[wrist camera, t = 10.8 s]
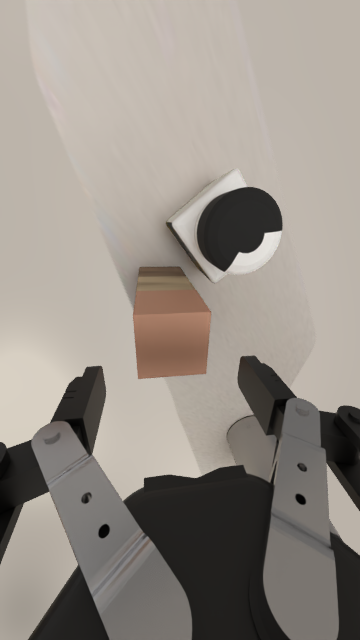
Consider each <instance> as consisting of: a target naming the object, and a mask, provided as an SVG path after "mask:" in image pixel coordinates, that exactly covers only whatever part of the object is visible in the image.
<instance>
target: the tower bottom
mask: <svg viewBox="0 0 360 640" xmlns="http://www.w3.org/2000/svg"><path fill="white" fill-rule="evenodd" d="M155 276H186V275H185V274H184V272H183V271H182V269H181V268H180V267H140V269H139V276H138V277H155Z"/></svg>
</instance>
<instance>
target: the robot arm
mask: <svg viewBox="0 0 360 640" xmlns="http://www.w3.org/2000/svg"><path fill="white" fill-rule="evenodd" d="M238 385H239V388H240V390H241V392H242V393H243V395H244V397H245V399H246V401H247V402H248V404H249V406H250V408H251V410H252V411H253V413H254V415H255V416H251V417H247V418H244V419H242V420H240V421H238V422H237V423H235V424H234V425H233V426H232V427H231V428H230V430H229V432H228V434H227V440H228V443H229V446H230V449H231V451H232V454H233V457H234V460H235V463H236V465H237V466H229V467H222V468H218V469H216V470H214V471H212V472H210V473H207V474H205V475H203V476H201V477H198V478H190V477H182V476H176V475H163V476H156V477H149V478H144V487H143V488H141V489H139V490H137V491H136V492H134V493H132V494H131V495H130V496H129V497H127V498H126V499H125V500H124V501H122V499H121V498H120V496H119V495H118V493H117V492H116V490H115V488H114V487H113V485H112V484H111V482H110V481H109V479H108V478H107V476H106V475H105V473H104V471H103V470H102V468H101V467H100V465H99V464H98V462H97V461H96V459H95V458H94V456H93V455H92V453H93V448H94V444H95V440H96V436H97V432H98V428H99V423H100V419H101V415H102V411H103V407H104V403H105V397H106V387H105V381H104V375H103V369H102V366H93V367H87V368H86V369H85V372H84V374H83V376H82V377H76V378H75V379H74V380H73V381H72V382H71V383H69V385H68V387H67V389H66V391H65V393H64V395H63V397H62V400H61V402H60V404H59V406H58V408H57V410H56V412H55V414H54V416H53V418H52V420H51V422H50V423H49V424H47V425H45V426H44V427H42V428H41V429H40V430H39V431H38V432H37V433H36V434H35V435H34V437H33V439H32V440H29V441H27V442H24V443H21V444H19V445H16V446H13V447H10V448H6V446H5V444H3V443H2V442H0V564H1V561H2V558H3V555H4V553H5V551H6V548H7V545H8V543H9V540H10V538H11V535H12V533H13V530H14V527H15V525H16V522H17V520H18V517H19V514H20V512H21V509H22V507H23V504H24V503H25V502H27V501H29V500H32V499H34V498H36V497H38V496H40V495H43V494H45V493H47V492H50V494H51V497H52V499H53V502H54V504H55V507H56V509H57V512H58V514H59V517H60V519H61V522H62V524H63V527H64V529H65V532H66V534H67V537H68V539H69V542H70V545H71V547H72V549H73V552H74V555H75V557H76V560H77V562H78V566H77V568H76V569H75V571H74V572H73V574H72V575H71V577H70V578H69V580H68V581H67V582H66V584H65V585H64V587H63V588H62V590H61V591H60V593H59V594H58V596H57V597H56V599H55V600H54V602H53V603H52V605H51V606H50V608H49V609H48V611H47V612H46V614H45V615H44V617H43V618H42V620H41V621H40V623H39V624H38V626H37V627H36V629H35V630H34V631H33V633H32V635H31V636H30V637H29V639H28V640H360V555H358V554H357V553H356V552H355V551H354V550H352V549H351V548H350V547H349V546H347V545H346V544H345V543H344V542H343V541H342V539H341V538H340V536H339V534H338V532H337V531H336V529H335V527H334V526H333V524H332V523H331V521H330V519H329V508H328V488H327V466H326V463H327V464H328V466H329V467H330V469H331V470H332V471H333V473H334V474H335V476H336V477H337V479H338V480H339V482H340V483H341V485H342V486H343V488H344V489H345V490H346V492H347V493H348V495H349V496H350V498H351V499H352V501H353V502H354V504H355V505H356V507H357V508H358V509H359V511H360V409H358V408H355V407H352V406H340V407H339V408H338V410H337V413H329V412H324V411H318V409H317V408H316V407H315V406H314V405H313V404H312V403H310V402H308V401H306V400H304V399H300V398H297V397H296V396H295V395H294V394H293V392H292V391H291V390H290V389H289V388H288V387H287V385H286V384H285V383H284V382H283V381H282V380H281V378H280V377H279V376H277V374H276V373H275V371H274V370H273V369H272V368H271V367H269V366H267V365H266V364H264V363H262V364H261V362H260V361H259V360H258V359H257V357H256V356H242V357H241V359H240V365H239V372H238Z"/></svg>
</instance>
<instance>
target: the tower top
mask: <svg viewBox="0 0 360 640" xmlns="http://www.w3.org/2000/svg"><path fill="white" fill-rule="evenodd" d="M160 290H195V288H194V287H193V286H192V284H191V283H190V281H189V280H188V278H187V277H186V276H155V277H138V282H137V289H136V291H160Z"/></svg>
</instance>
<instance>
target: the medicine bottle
mask: <svg viewBox="0 0 360 640" xmlns="http://www.w3.org/2000/svg"><path fill="white" fill-rule="evenodd" d="M166 224H167V226H168V228H169V229H170V230H171V232H172V233H173V234H174V236H175V237H176V239H177V240H178V241H179V243H180V244H181V246H182V247H183V248H184V250H185V251H186V252H187V254H188V255H189V257H190V258H191V259H192V261H193V262H194V264H195V265H196V266H197V268H198V269H199V270H200V271H201V272H202V273H203V274H204V275H205V276H206V277H207V278H208V279H209V280H210V281H211V282H213V283H216V282H218V281H219V280H221V279H222V278H223V277H224V276H226V275H227V274H232V275H244V274H248V273H251V272H254V271H255V270H257V269H259V268H260V267H262V266H263V265H264V264H265V263H267V262H268V260H269V259H270V258H271V257H272V255H273V254H274V253H275V251H276V249H277V247H278V245H279V242H280V239H281V235H282V216H281V212H280V209H279V207H278V205H277V203H276V201H275V200H274V199H273V198H272V197H271V196H270V195H269V194H268V193H266V192H265V191H263V190H261V189H258V188H254V187H248V186H247V184H246V182H245V180H244V178H243V176H242V174H241V172H240V170H239V169H234V170H232V171H230V172H228V173H227V174H225V175H223V176H221V177H219V178H218V179H216V180H214V181H213V182H211V183H210V184H209V185H208V186H207V187H206V188H204V189H203V190H202V191H201V192H200V193H199V194H197V195H196V196H195V197H194V198H193V199H192V200H190V201H189V202H188V203H187V204H186V205H185V206H183V207H182V208H181V209H180V210H179V211H177V212H176V213H175V214H174V215H173V216H172V217H170V218H169V219H168V220H167V221H166Z"/></svg>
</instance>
